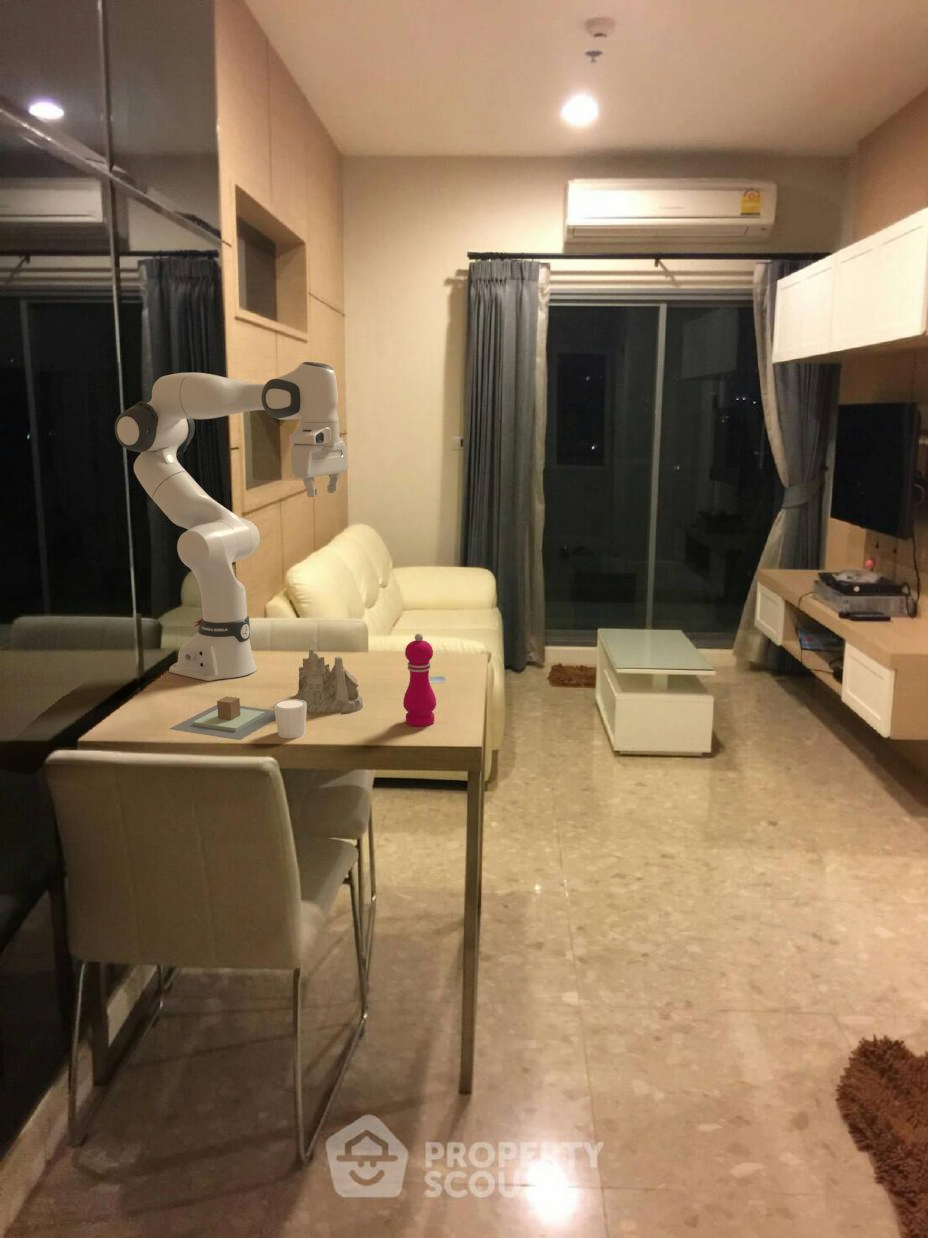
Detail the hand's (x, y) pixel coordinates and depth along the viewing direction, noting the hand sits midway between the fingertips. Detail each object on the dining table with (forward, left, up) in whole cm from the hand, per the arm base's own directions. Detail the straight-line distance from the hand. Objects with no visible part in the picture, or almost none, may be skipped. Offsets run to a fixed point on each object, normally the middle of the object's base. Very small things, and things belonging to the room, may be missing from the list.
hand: (322, 494), depth 217 cm
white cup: (+10, -33, -47) cm, 58 cm away
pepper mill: (+32, -16, -47) cm, 59 cm away
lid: (-7, -31, -46) cm, 56 cm away
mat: (-7, -31, -47) cm, 57 cm away
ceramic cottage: (+7, -12, -47) cm, 49 cm away
